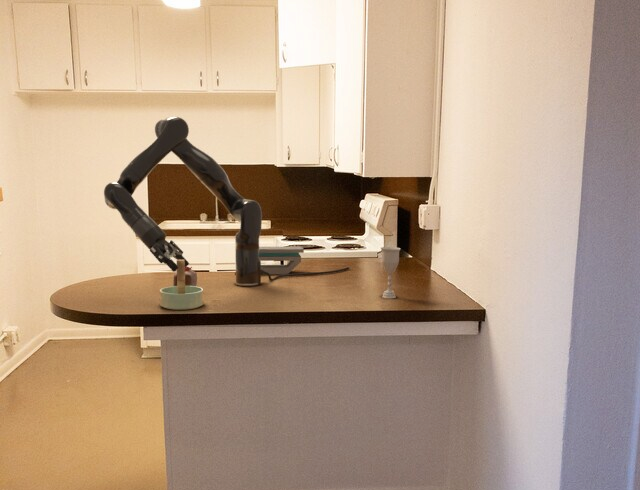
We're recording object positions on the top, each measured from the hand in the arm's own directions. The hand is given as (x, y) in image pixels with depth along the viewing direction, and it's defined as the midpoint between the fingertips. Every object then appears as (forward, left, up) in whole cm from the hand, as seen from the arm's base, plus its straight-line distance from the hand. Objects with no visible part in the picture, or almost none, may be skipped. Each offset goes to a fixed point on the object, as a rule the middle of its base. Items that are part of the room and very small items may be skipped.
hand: (181, 267), depth 220 cm
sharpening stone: (-49, -52, -13) cm, 72 cm away
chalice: (-74, +8, -13) cm, 75 cm away
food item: (-5, -21, -13) cm, 25 cm away
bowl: (0, 0, -13) cm, 13 cm away
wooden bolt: (0, 0, -12) cm, 12 cm away
